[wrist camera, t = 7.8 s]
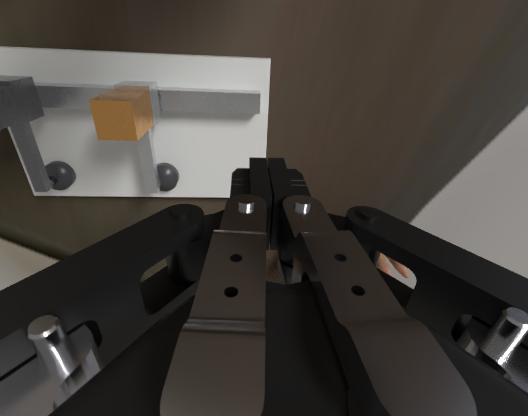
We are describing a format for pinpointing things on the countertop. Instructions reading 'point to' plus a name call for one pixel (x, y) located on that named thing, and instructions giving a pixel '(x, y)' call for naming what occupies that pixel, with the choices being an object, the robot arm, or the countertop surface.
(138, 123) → the block
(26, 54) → the hole plate
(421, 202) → the countertop surface
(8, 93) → the rail and fixed leg
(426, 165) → the countertop surface
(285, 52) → the countertop surface
